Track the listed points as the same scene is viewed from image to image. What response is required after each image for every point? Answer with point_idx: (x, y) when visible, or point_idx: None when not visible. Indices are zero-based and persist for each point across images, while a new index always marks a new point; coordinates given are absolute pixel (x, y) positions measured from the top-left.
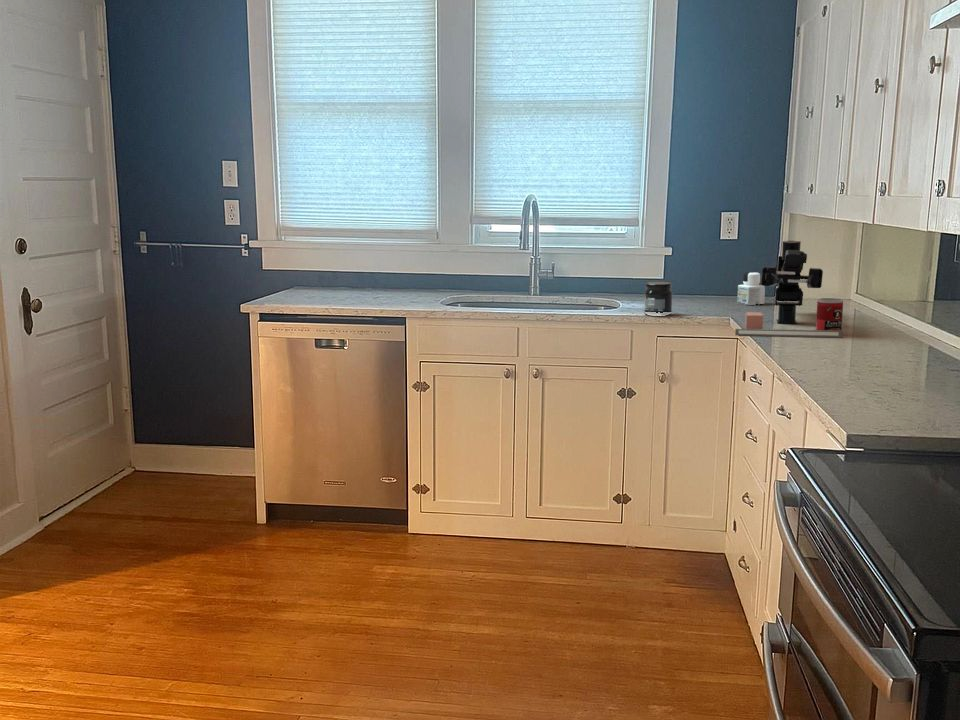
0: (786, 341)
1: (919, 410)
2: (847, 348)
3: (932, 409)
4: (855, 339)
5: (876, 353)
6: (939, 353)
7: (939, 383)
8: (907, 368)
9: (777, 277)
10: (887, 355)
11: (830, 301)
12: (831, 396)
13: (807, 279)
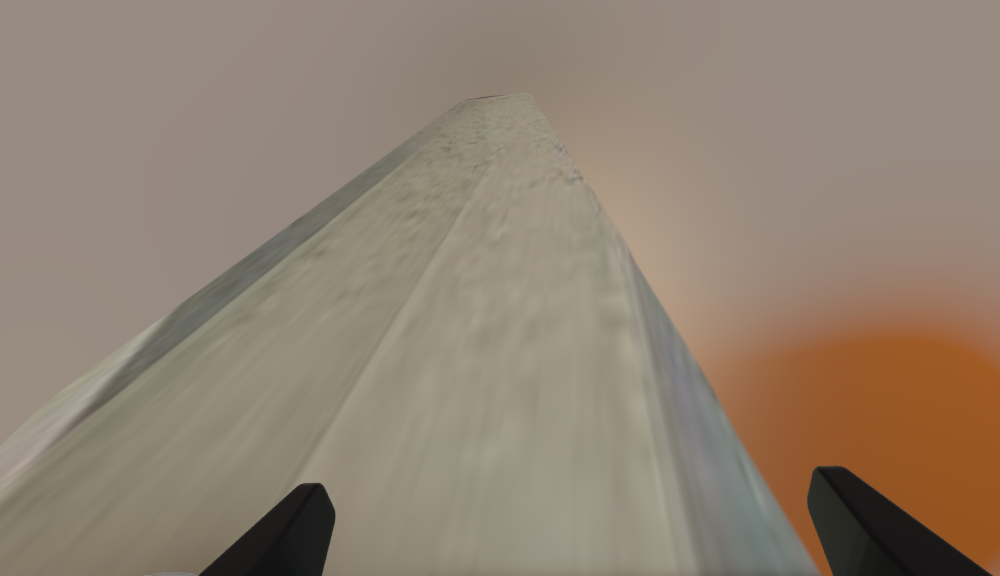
0: (595, 436)
1: (454, 122)
2: (388, 347)
3: (441, 125)
4: None
5: (340, 303)
6: (169, 330)
7: (373, 173)
8: (363, 216)
9: (918, 564)
10: (327, 289)
11: (188, 572)
12: (528, 126)
13: (280, 538)
